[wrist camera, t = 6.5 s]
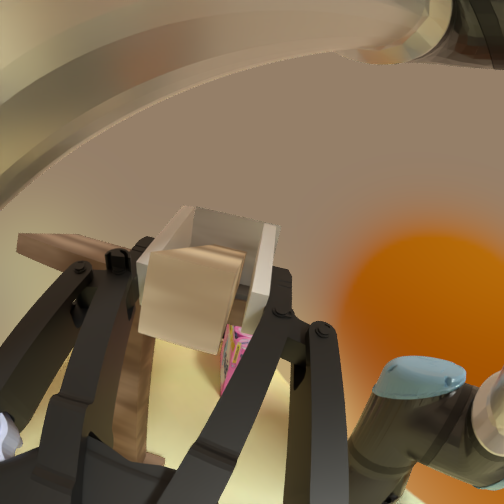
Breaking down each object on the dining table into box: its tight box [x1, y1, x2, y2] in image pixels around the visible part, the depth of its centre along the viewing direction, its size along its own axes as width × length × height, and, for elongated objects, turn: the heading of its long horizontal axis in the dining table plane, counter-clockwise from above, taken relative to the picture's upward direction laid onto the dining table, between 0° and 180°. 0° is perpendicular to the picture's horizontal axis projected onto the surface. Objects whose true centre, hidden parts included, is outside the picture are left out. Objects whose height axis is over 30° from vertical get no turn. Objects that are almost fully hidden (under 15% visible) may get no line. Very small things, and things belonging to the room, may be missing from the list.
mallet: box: [138, 207, 281, 355], centre depth 20 cm, size 22×8×6 cm, turn 0°
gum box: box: [220, 324, 253, 395], centre depth 60 cm, size 24×8×14 cm, turn 6°
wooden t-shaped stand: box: [16, 233, 250, 466], centre depth 27 cm, size 12×28×28 cm, turn 90°
